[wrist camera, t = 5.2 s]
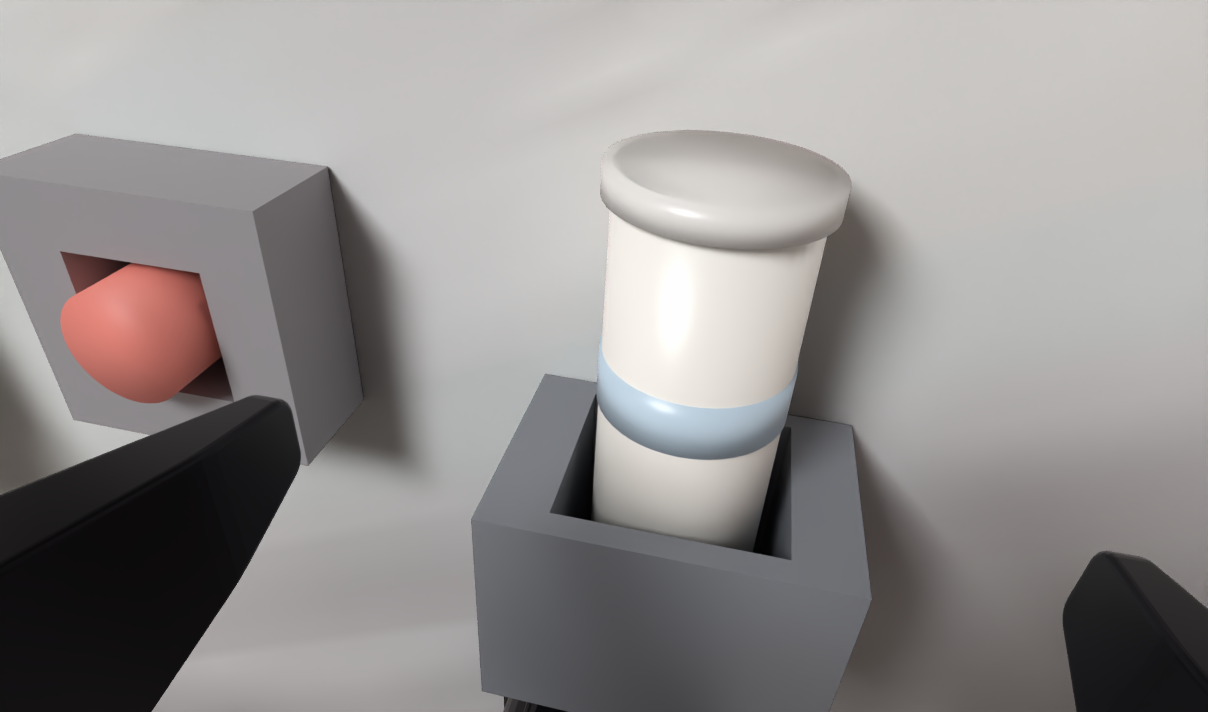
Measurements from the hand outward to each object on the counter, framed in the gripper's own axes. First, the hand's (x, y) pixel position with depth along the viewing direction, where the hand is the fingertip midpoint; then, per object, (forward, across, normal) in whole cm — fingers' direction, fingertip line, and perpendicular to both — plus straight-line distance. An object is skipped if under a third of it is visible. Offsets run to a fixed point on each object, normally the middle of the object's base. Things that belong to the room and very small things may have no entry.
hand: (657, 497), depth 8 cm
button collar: (+10, +13, +4) cm, 17 cm away
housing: (+10, 0, +8) cm, 13 cm away
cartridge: (+9, 0, +4) cm, 10 cm away
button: (+9, +13, +4) cm, 16 cm away
